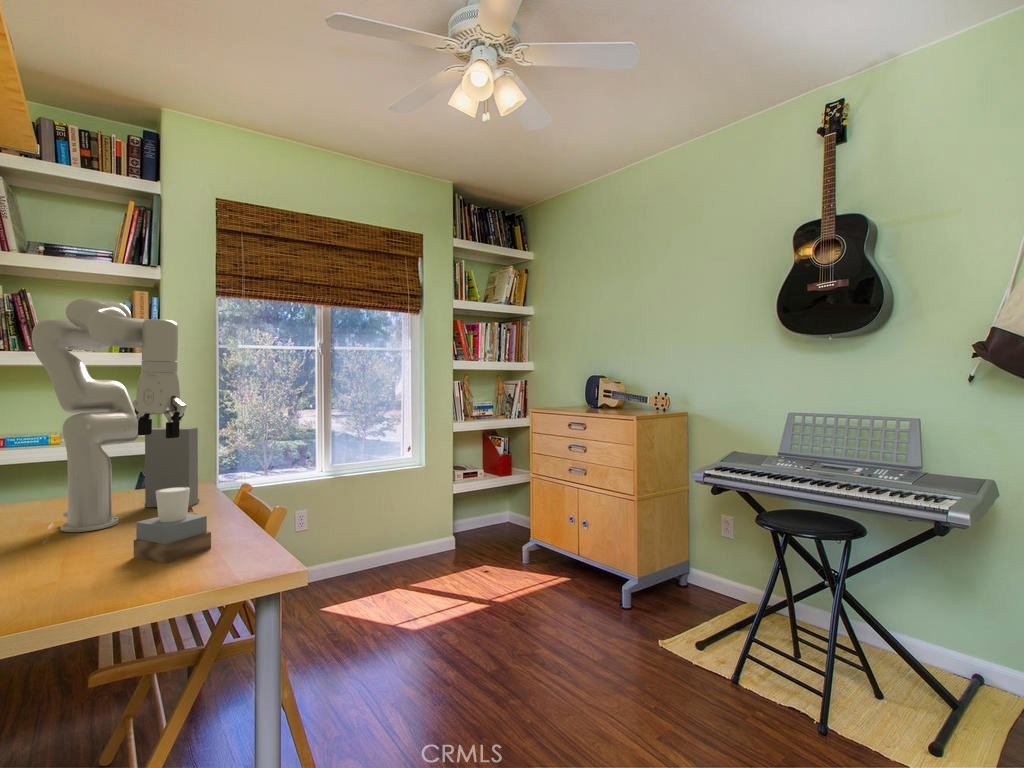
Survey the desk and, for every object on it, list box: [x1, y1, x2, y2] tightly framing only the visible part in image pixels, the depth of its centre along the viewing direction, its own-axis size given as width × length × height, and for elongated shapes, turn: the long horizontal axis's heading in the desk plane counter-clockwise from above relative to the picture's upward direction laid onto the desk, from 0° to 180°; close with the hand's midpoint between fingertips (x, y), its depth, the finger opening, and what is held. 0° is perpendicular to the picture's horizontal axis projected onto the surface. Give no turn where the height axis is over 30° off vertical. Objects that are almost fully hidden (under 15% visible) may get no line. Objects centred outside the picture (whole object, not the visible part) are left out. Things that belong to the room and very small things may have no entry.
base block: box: [133, 531, 212, 564], centre depth 124 cm, size 11×11×4 cm
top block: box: [135, 513, 208, 545], centre depth 124 cm, size 10×10×4 cm
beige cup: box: [156, 487, 190, 522], centre depth 125 cm, size 7×7×7 cm
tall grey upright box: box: [144, 427, 200, 508], centre depth 170 cm, size 14×6×25 cm, turn 93°
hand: (158, 436), depth 133 cm, fingers open, 9 cm apart
